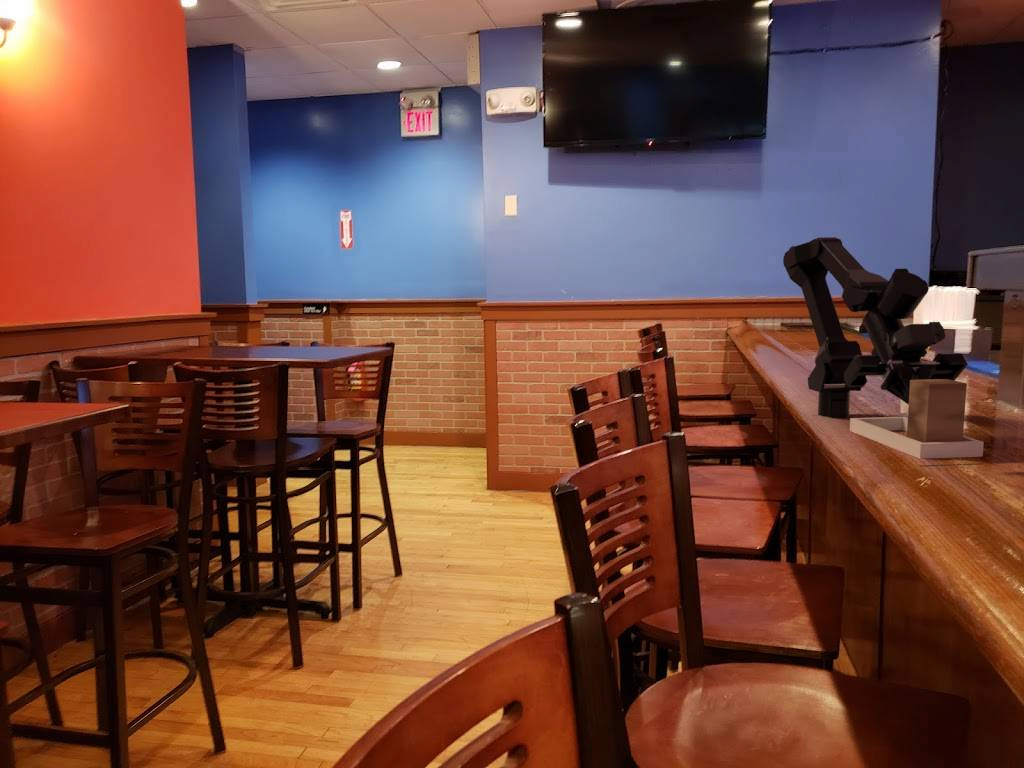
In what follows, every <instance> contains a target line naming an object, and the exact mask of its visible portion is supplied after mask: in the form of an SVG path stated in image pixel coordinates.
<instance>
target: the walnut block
mask: <svg viewBox="0 0 1024 768" xmlns="http://www.w3.org/2000/svg"><path fill="white" fill-rule="evenodd" d="M967 386H968V384H967V382H962V381H957V380H955V381H954V380H949V379H923V380H910V391H909V408H908V413H907V418H908V425H907V432H906V437H908V438H911V439H914V440H916V441H919V442H922V443H930V442H961V441H963V436H964V430H965V417H966V416H965V414H966V401H967Z"/></svg>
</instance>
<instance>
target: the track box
mask: <svg viewBox="0 0 1024 768" xmlns="http://www.w3.org/2000/svg"><path fill="white" fill-rule="evenodd" d="M907 425H908V416H887V417H886V416H884V417H883V416H882V417H854V418H853V417H851V418H849V432H852V433H855V434H857V435H860V436H862V437H864V438H866V439H870V440H872V441H875V442H877V443H880V444H882V445H885V446H887V447H890V448H892V449H895V450H898V451H900V452H902V453H905V454H908V455H911V456H913V457H915V458H918V459H920V460H921V459H922V460H923V459H943V458H945V459H946V458H947V459H948V458H949V459H950V458H975V457H976V458H977V457H978V458H979V457H980V458H981V457H983V456H984V442H985V441H982V440H979V439H975V438H972V437H969V436H966V435H963V441H961V442H930V443H922V442H919V441H916V440H914V439H911V438H908V437H907V436H905V435H902V434H900V433H897V432H894V431H904V432H905V433H907ZM972 465H973V466H974V465H975V466H977V465H983V463H979V462H978V463H959V464H958V463H957V464H956V463H954V464H953V463H952V464H928V465H926V464H925V465H920V466H921V467H945V466H947V467H948V466H950V467H951V466H972ZM921 467H920V468H921Z"/></svg>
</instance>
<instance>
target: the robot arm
mask: <svg viewBox="0 0 1024 768" xmlns="http://www.w3.org/2000/svg"><path fill="white" fill-rule="evenodd" d="M782 258H783V259H782V260H783V261H782V262H783V267H784V268H785V271H786V273H787V275H788V277H789V280H791V281H792V282H793V283H794V284H795V285H797V286H798V287H799V288H801V291H802V295H803V297H804V301H805V305H806V308H807V311H808V314H809V316H810V321H811V324H812V327H813V330H814V334H815V337H816V340H817V343H818V346H819V347H818V351H817V353H816V357H815V359H814V364H815V366H814V368H813V369H812V371H811V373H810V374H809V376H808V377H807V385H808V390H811V391H814V392H818V400H817V401H818V402H817V403H818V404H817V416H821V417H823V418H824V417H825V418H830V419H847V418H848V417H849V416H850V401H851V391H852V392H853V391H856V392H861V391H862V388H864V387H865V386H866V384H867V383H868V380H867V379H868V378H867V376H868V377H870V378H873V377H874V378H875V377H878V378H879V377H881V378H882V381H883V382H882V383H881V385H880V389H881V390H882V391H887V392H888V393H890V394H892V395H893V396H895V397H896V398H898V399H899V400H900V399H901V400H903V401H904V402H905V403H907V404H908V405H909V391H910V380H923V379H949V380H954V381H956V380H957V378H958V377H959V376H960V375H961V374H962V372H963V371H964V370H965V369H966V368H967V367H968V366H969V364H968V361H967V360H966V358H965V356H964V355H963V353H961V352H940V353H939V352H938V353H937V354H936V355H935V357H934V358H933V359H932V360H927V361H923V360H922V361H921V358H925V357H926V355H927V354H928V351H927V349H928V348H929V347H931V346H933V345H937V344H938V343H940V342H942V341H943V340H945V338H946V331H945V328H944V326H943V325H942V324H941V322H940V321H929V322H928V323H916V324H915V323H911V324H907V325H905V324H904V323H903V321H902V320H904V319H908V318H910V317H911V316H912V315H913V313H914V312H915V311H916V309H917V308H918V306H919V305H920V304H921V303H922V301H923V299H924V298H925V297H926V295H928V292H929V290H930V289H929V288H930V287H929V284H928V282H927V281H926V280H924V279H923V278H922V277H920V276H919V275H917V274H915V273H911V272H910V271H909V270H908V268H894V271H893V272H892V274H891V277H890V278H889V280H888V279H887V278H885V277H883V276H882V275H880V274H876V273H874V272H870V271H868V270H867V269H866V268H864V267H863V265H861V263H860V262H858V260H857V259H856V258H855V257H854V256H853V255H852V254H851V253H850V252H849V251H848V249H847V248H845V246H844V245H843V242H842V239H841V238H837V237H836V236H835V237H833V236H832V237H830V236H829V237H828V236H827V237H819V236H818V237H816V238H813V239H812V240H810V241H807V242H804V243H801V244H797V245H792V246H791V247H789V249H788V250H787V251H786V252H784V255H783V257H782ZM828 273H830V275H832V277H833V278H834V279H835V280H836V281H837V283H839V285H840V286H841V288H842V293H841V298H842V300H843V302H844V304H845V306H846V307H847V309H848V310H849V311H850V312H852V313H866V314H865V315H864V317H863V318H862V322H861V324H860V326H859V328H858V333H859V334H868V337H869V339H870V341H871V344H872V346H873V349H872V350H871V352H870V354H863V353H862V350H861V346H860V345H861V344H860V343H859V342H858V341H857V340H848V339H847V338H846V336H845V334H844V331H843V328H842V324H841V322H840V318H839V316H838V313H837V310H836V307H835V306H836V305H835V304H834V301H833V297H832V294H831V291H830V289H829V286H828V285H829V284H828V282H827V279H826V278H827V275H828ZM812 416H813V417H814V414H812Z"/></svg>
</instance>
